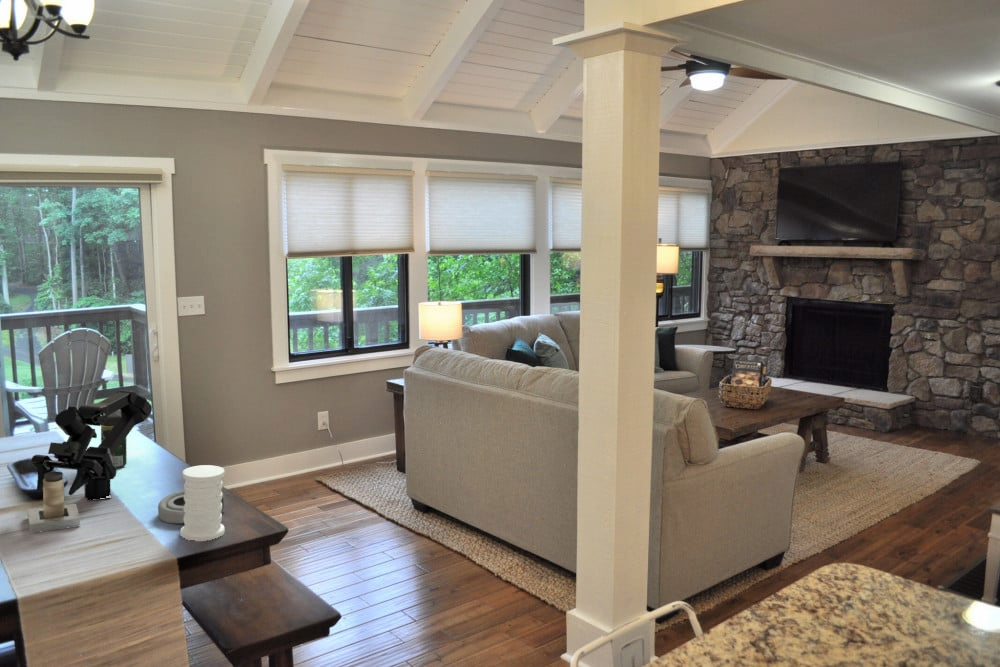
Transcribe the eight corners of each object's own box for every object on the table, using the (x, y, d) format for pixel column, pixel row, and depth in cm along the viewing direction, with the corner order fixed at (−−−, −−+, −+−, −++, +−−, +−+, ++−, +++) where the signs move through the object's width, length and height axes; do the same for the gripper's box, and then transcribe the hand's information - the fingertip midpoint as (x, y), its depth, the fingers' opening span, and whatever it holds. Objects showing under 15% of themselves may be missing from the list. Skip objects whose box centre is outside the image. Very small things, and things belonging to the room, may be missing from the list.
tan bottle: (66, 518, 226) (66, 471, 224) (60, 525, 221) (60, 477, 219) (47, 518, 225) (47, 471, 223) (40, 525, 220) (40, 476, 218)
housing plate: (76, 512, 231) (76, 503, 231) (80, 526, 221) (80, 518, 221) (28, 517, 225) (27, 509, 224) (29, 533, 215) (29, 524, 214)
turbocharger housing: (147, 520, 232) (180, 533, 225) (145, 499, 231) (179, 511, 223) (195, 501, 246) (229, 512, 239) (194, 481, 245) (228, 492, 238)
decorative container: (193, 544, 215) (194, 480, 212) (172, 531, 222) (173, 469, 220) (232, 534, 223) (233, 472, 221) (211, 522, 231) (212, 462, 228)
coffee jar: (100, 461, 277) (100, 409, 274) (126, 459, 280) (126, 408, 278) (101, 470, 268) (101, 416, 265) (126, 468, 272) (127, 415, 269)
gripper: (33, 427, 225) (7, 476, 216) (96, 432, 224) (73, 483, 215) (51, 446, 234) (27, 494, 225) (112, 452, 233) (90, 501, 224)
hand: (53, 493), depth 222 cm, fingers open, 9 cm apart
